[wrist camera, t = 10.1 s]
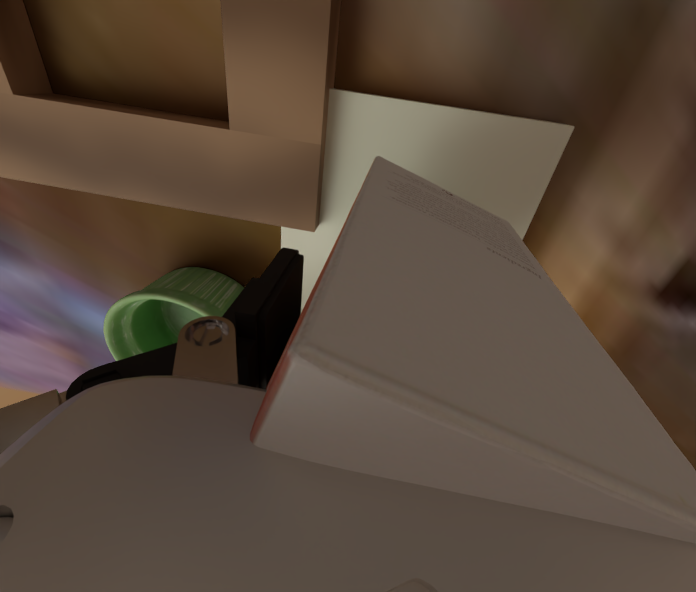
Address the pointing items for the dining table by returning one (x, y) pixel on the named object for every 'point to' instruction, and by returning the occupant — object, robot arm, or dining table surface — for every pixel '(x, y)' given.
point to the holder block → (187, 122)
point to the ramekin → (166, 309)
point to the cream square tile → (428, 162)
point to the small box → (465, 371)
